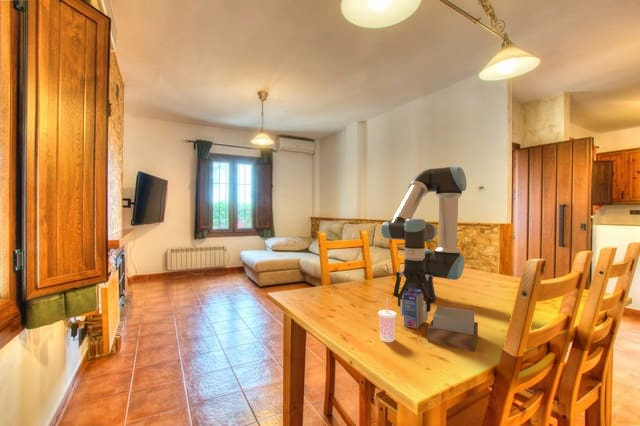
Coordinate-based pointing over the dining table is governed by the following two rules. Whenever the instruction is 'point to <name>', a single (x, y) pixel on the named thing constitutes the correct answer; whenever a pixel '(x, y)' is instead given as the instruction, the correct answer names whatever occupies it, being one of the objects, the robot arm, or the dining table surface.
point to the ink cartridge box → (413, 308)
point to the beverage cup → (387, 324)
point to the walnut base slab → (453, 338)
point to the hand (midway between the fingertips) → (413, 317)
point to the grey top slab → (454, 320)
